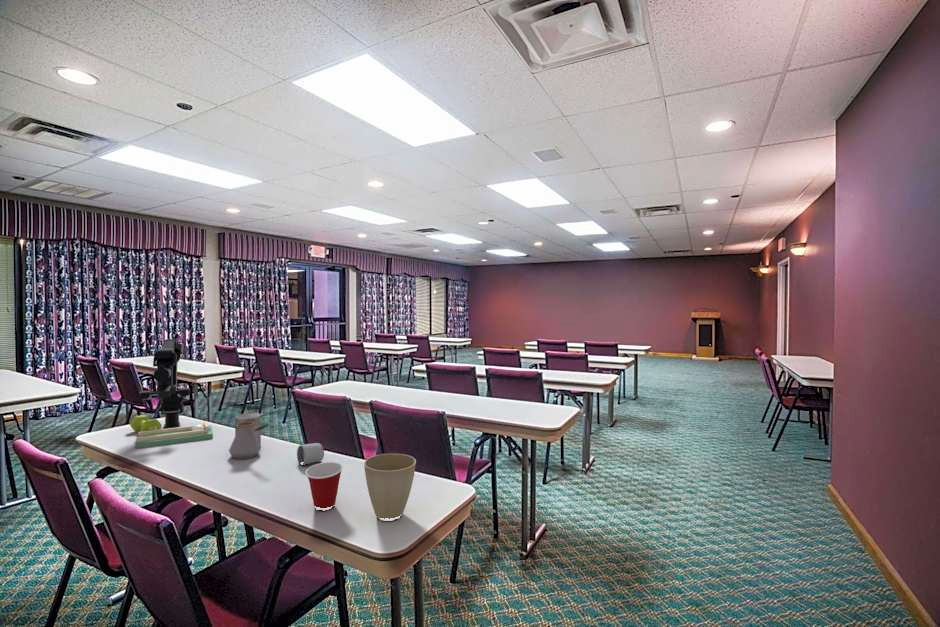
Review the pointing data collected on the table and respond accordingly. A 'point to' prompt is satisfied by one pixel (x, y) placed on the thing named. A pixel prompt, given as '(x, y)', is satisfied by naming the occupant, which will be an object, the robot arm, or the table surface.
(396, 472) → the plant pot
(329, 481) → the plastic cup
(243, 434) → the coffee pot
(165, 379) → the robot arm
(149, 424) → the dumbbell
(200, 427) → the golf ball
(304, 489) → the table surface
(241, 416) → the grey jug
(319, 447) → the ceramic mug
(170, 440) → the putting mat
